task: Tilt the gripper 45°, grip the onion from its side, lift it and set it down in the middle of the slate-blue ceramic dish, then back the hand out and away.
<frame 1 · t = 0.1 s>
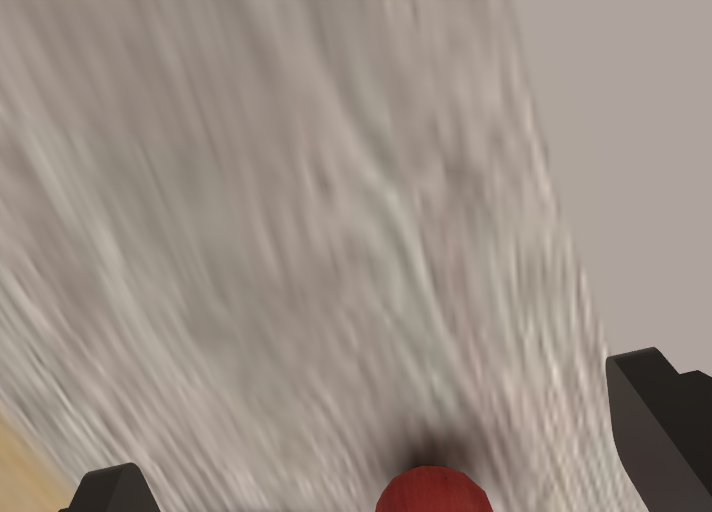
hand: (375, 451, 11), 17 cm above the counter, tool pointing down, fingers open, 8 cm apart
onion: (422, 468, 35), on the counter
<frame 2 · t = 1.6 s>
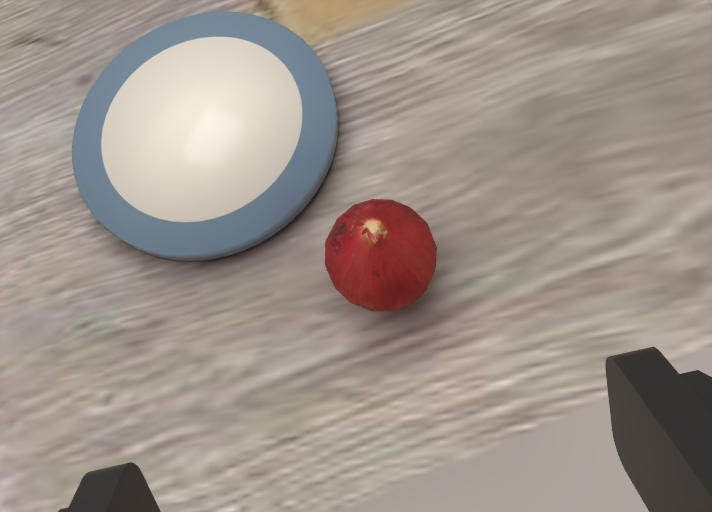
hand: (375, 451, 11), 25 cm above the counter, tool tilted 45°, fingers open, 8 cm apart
onion: (388, 277, 39), on the counter
dish: (210, 139, 44), on the counter
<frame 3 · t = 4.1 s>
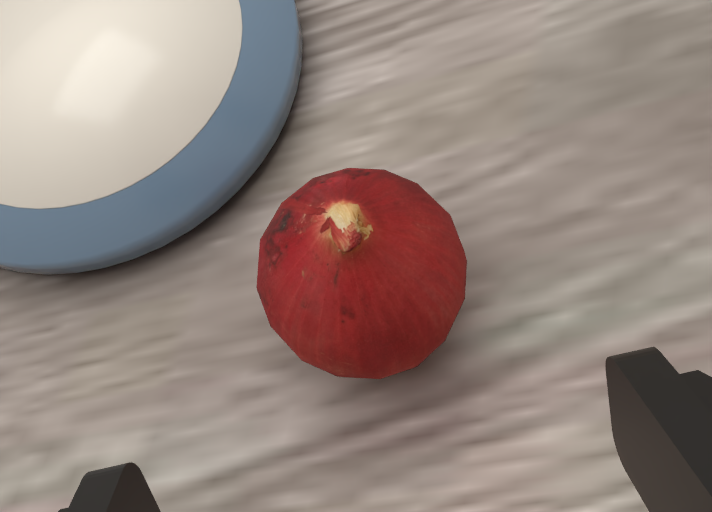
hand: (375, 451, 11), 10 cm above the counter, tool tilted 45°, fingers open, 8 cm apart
onion: (377, 310, 23), on the counter
dish: (100, 80, 27), on the counter
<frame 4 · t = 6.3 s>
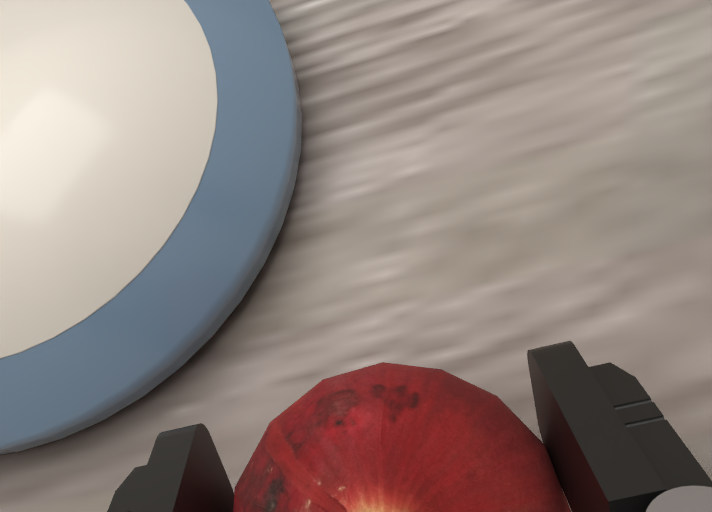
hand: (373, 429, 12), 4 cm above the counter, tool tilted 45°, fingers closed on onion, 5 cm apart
dish: (27, 163, 20), on the counter
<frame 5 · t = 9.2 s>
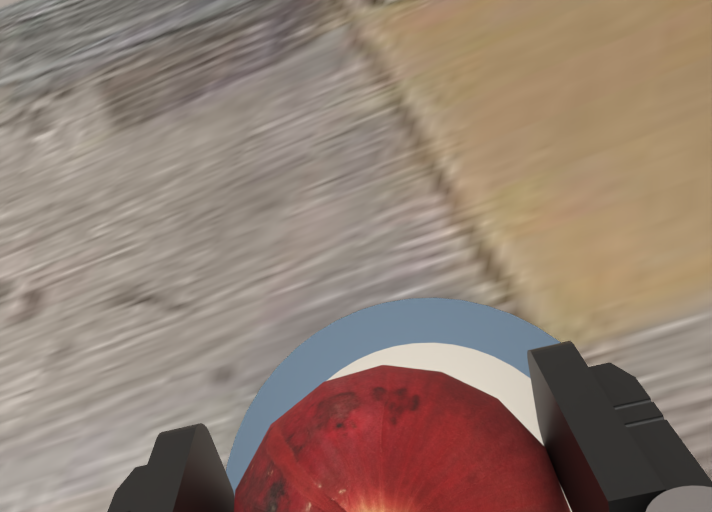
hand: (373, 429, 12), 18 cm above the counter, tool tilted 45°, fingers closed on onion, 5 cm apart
dish: (430, 505, 28), on the counter
when the fingers open (7 cm above the counter, at t = 12.1 s): onion drops 1 cm, resting on dish.
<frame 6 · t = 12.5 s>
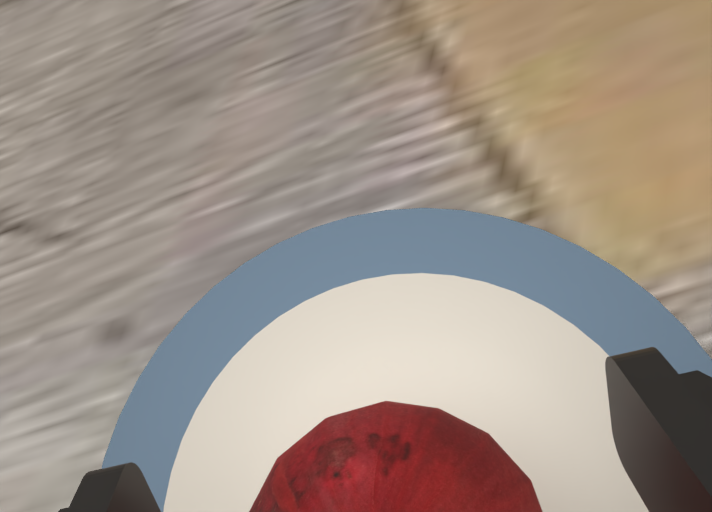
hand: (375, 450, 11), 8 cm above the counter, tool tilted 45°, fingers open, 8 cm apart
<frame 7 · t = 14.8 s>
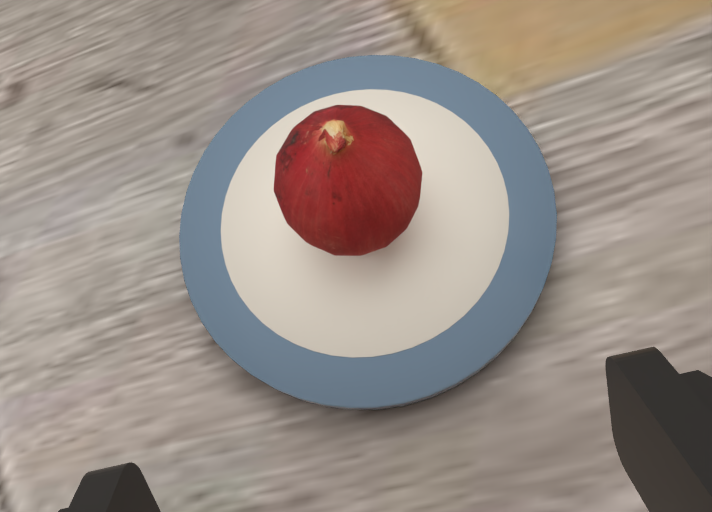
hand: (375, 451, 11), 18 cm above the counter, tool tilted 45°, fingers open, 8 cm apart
onion: (361, 219, 30), point 2 cm above the counter, touching dish
dish: (366, 229, 32), on the counter
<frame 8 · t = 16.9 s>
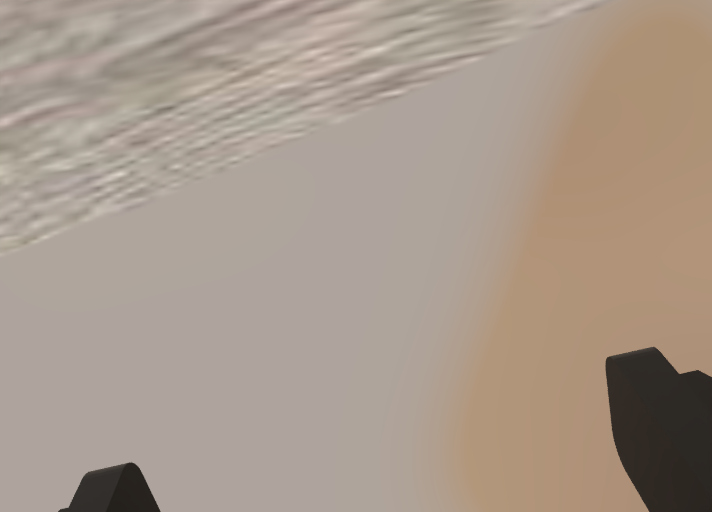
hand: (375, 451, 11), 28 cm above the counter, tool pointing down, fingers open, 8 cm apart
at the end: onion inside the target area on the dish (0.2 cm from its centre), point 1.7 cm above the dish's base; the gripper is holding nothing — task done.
